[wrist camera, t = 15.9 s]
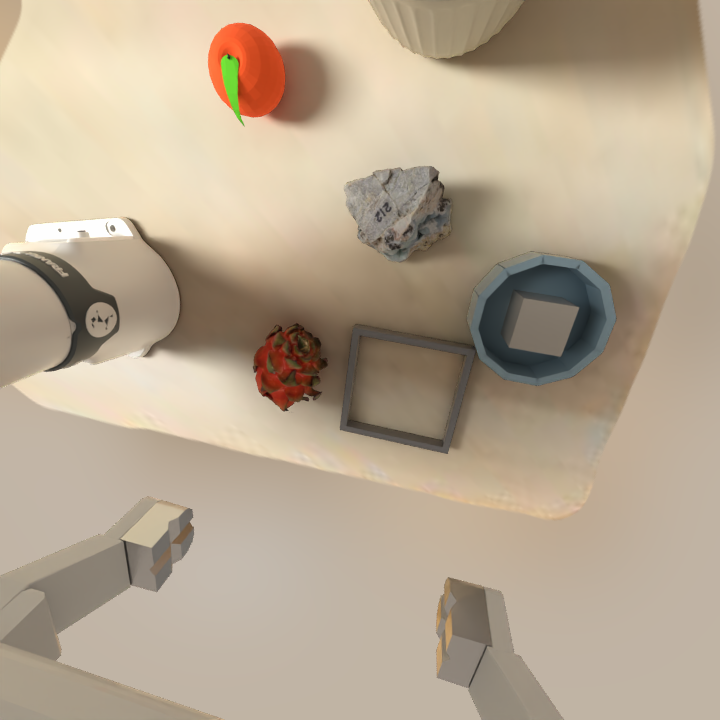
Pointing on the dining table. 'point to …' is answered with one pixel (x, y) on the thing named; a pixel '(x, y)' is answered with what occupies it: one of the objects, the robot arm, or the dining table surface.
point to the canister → (444, 23)
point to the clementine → (246, 70)
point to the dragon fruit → (288, 366)
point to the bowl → (549, 279)
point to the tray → (394, 434)
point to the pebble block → (538, 322)
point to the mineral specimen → (400, 210)
